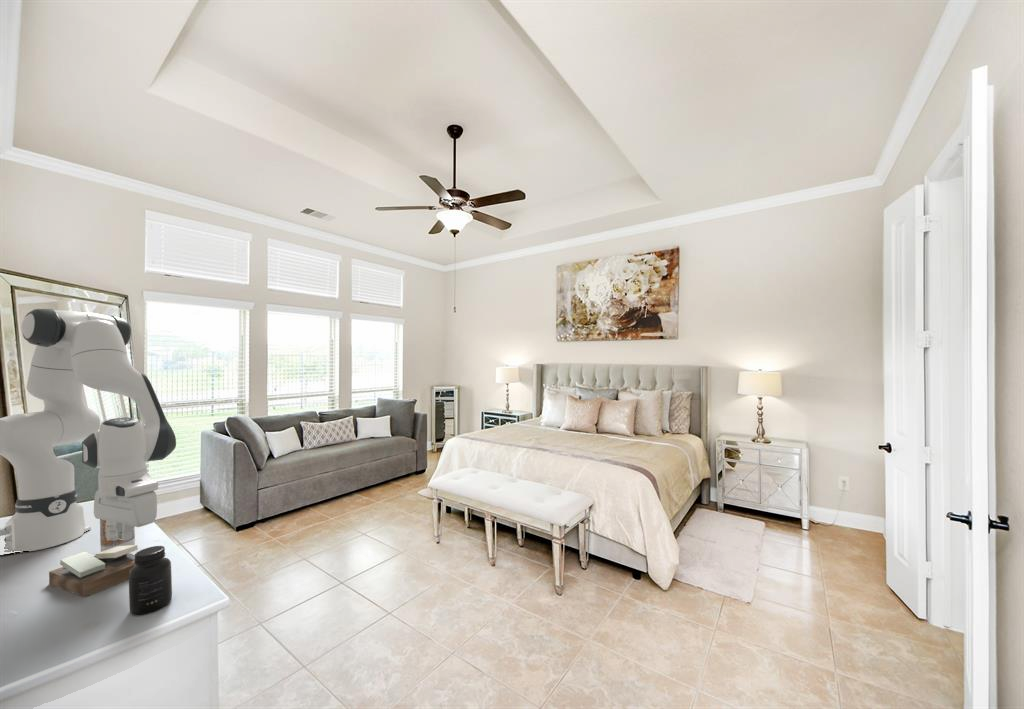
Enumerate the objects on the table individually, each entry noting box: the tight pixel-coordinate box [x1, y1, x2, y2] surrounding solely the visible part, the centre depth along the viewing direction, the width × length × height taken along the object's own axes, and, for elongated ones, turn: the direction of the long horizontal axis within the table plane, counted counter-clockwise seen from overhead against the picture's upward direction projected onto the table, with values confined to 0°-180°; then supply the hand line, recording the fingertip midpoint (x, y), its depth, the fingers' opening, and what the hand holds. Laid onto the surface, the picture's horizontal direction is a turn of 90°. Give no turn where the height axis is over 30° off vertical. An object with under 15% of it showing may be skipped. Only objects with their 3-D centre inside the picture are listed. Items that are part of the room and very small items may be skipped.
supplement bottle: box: [128, 545, 173, 617], centre depth 87 cm, size 7×7×12 cm
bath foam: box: [99, 519, 136, 552], centre depth 115 cm, size 7×7×20 cm
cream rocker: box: [95, 544, 139, 559], centre depth 103 cm, size 9×4×1 cm, turn 68°
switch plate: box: [48, 553, 135, 598], centre depth 100 cm, size 16×12×4 cm
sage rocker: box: [59, 550, 105, 578], centre depth 97 cm, size 9×4×1 cm, turn 68°
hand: (124, 539), depth 102 cm, fingers closed
